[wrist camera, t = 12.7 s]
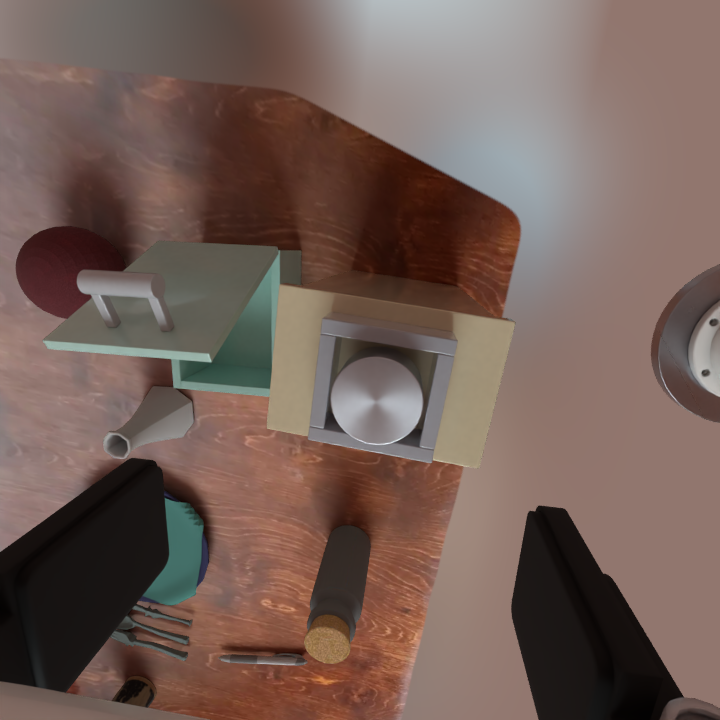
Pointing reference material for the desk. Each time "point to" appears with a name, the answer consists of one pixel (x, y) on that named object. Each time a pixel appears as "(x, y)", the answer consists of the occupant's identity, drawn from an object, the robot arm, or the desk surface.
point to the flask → (152, 422)
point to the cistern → (403, 333)
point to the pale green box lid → (166, 301)
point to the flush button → (378, 396)
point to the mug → (136, 692)
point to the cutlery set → (173, 575)
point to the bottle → (338, 595)
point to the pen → (265, 659)
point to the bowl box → (245, 340)
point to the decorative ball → (62, 267)
